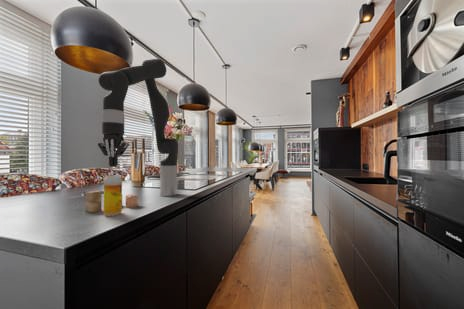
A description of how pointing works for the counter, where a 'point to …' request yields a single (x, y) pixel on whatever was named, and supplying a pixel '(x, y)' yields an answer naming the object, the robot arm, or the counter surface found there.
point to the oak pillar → (93, 201)
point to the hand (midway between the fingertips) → (113, 166)
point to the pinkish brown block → (131, 201)
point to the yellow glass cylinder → (112, 195)
